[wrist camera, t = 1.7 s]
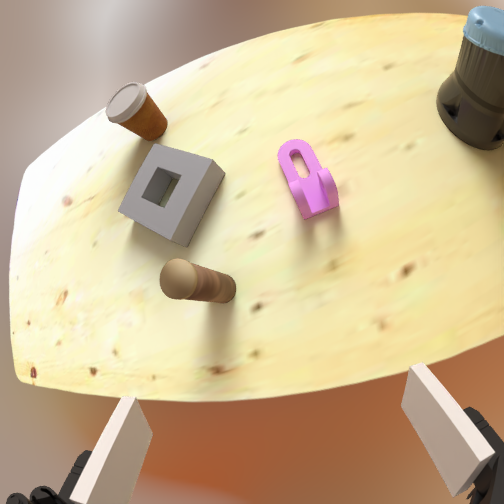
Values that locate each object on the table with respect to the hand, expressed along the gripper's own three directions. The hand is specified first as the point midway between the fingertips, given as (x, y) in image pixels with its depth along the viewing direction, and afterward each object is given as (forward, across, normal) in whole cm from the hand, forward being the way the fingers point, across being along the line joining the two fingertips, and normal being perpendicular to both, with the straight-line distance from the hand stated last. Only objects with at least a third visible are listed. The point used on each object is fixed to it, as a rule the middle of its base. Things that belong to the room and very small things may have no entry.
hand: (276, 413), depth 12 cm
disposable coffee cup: (+51, -19, +25) cm, 60 cm away
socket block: (+41, -13, +10) cm, 45 cm away
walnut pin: (+32, -6, -5) cm, 33 cm away
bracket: (+35, +9, +10) cm, 38 cm away
